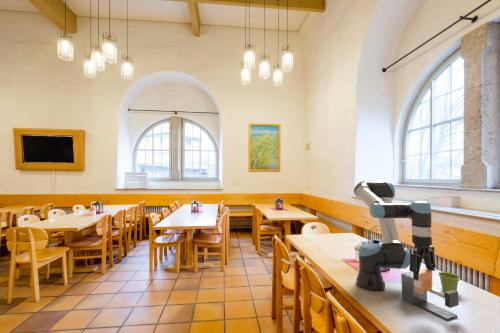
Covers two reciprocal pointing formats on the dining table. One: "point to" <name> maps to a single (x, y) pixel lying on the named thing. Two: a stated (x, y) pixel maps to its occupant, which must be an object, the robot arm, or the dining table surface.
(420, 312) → the dining table surface
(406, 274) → the block
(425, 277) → the block
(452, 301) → the shaft
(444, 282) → the plant pot
